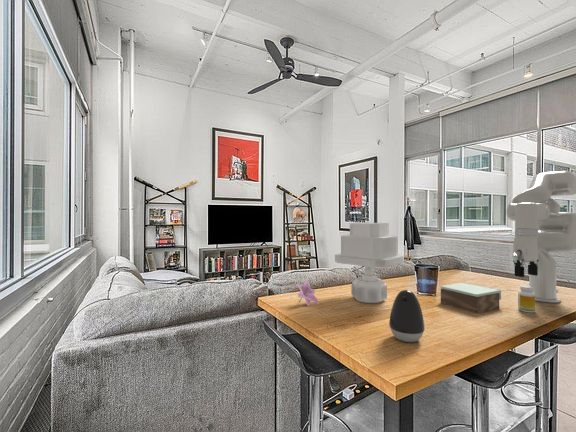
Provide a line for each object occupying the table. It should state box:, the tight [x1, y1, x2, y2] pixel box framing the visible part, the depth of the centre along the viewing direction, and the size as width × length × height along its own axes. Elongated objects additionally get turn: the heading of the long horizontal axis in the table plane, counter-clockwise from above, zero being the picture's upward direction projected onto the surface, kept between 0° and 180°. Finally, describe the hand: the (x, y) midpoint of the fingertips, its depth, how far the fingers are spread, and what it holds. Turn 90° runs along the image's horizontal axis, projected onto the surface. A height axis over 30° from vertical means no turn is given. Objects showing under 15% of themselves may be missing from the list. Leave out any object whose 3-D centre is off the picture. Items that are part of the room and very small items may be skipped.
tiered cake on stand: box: [334, 222, 405, 304], centre depth 139 cm, size 27×27×35 cm
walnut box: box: [440, 288, 500, 314], centre depth 130 cm, size 15×16×6 cm
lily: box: [296, 278, 320, 308], centre depth 132 cm, size 12×12×10 cm
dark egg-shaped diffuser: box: [388, 289, 426, 343], centre depth 94 cm, size 10×10×15 cm
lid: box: [440, 282, 502, 301], centre depth 130 cm, size 16×16×4 cm
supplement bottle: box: [517, 285, 536, 313], centre depth 122 cm, size 5×5×10 cm
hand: (526, 275), depth 122 cm, fingers open, 9 cm apart
